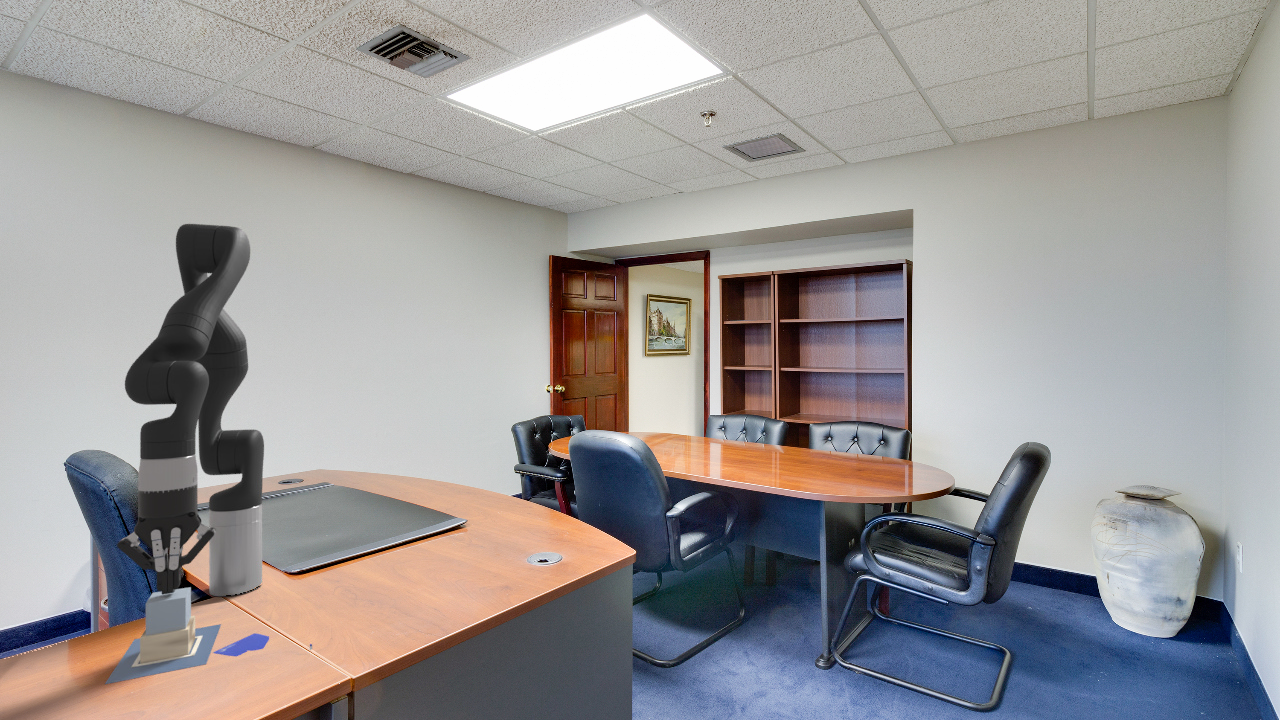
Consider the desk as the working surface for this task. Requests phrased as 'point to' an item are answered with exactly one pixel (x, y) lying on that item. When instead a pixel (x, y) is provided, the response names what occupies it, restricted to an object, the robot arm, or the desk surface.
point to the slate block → (168, 611)
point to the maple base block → (167, 643)
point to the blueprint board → (196, 657)
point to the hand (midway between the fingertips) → (168, 592)
